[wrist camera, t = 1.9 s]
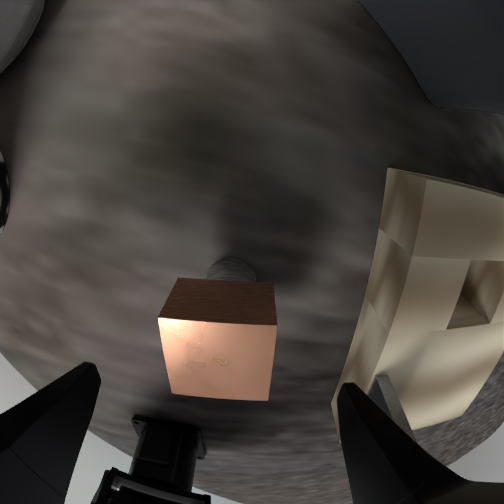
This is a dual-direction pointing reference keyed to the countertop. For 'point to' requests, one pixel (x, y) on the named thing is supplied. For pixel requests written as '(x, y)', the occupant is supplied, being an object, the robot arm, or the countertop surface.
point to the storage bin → (449, 48)
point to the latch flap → (389, 402)
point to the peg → (220, 334)
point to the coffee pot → (17, 27)
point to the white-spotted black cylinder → (3, 193)
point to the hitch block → (432, 297)
